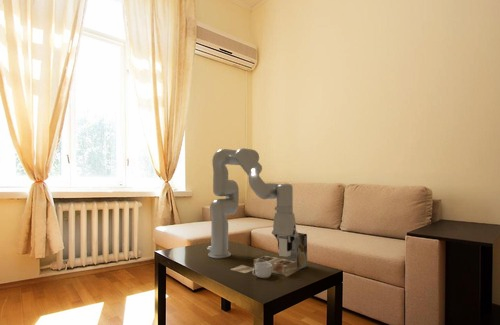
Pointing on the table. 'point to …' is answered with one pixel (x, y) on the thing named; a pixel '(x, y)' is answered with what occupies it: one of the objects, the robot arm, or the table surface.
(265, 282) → the table surface
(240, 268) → the mat
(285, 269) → the socket board
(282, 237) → the plug
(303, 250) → the coffee box
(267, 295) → the table surface
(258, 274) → the teacup
